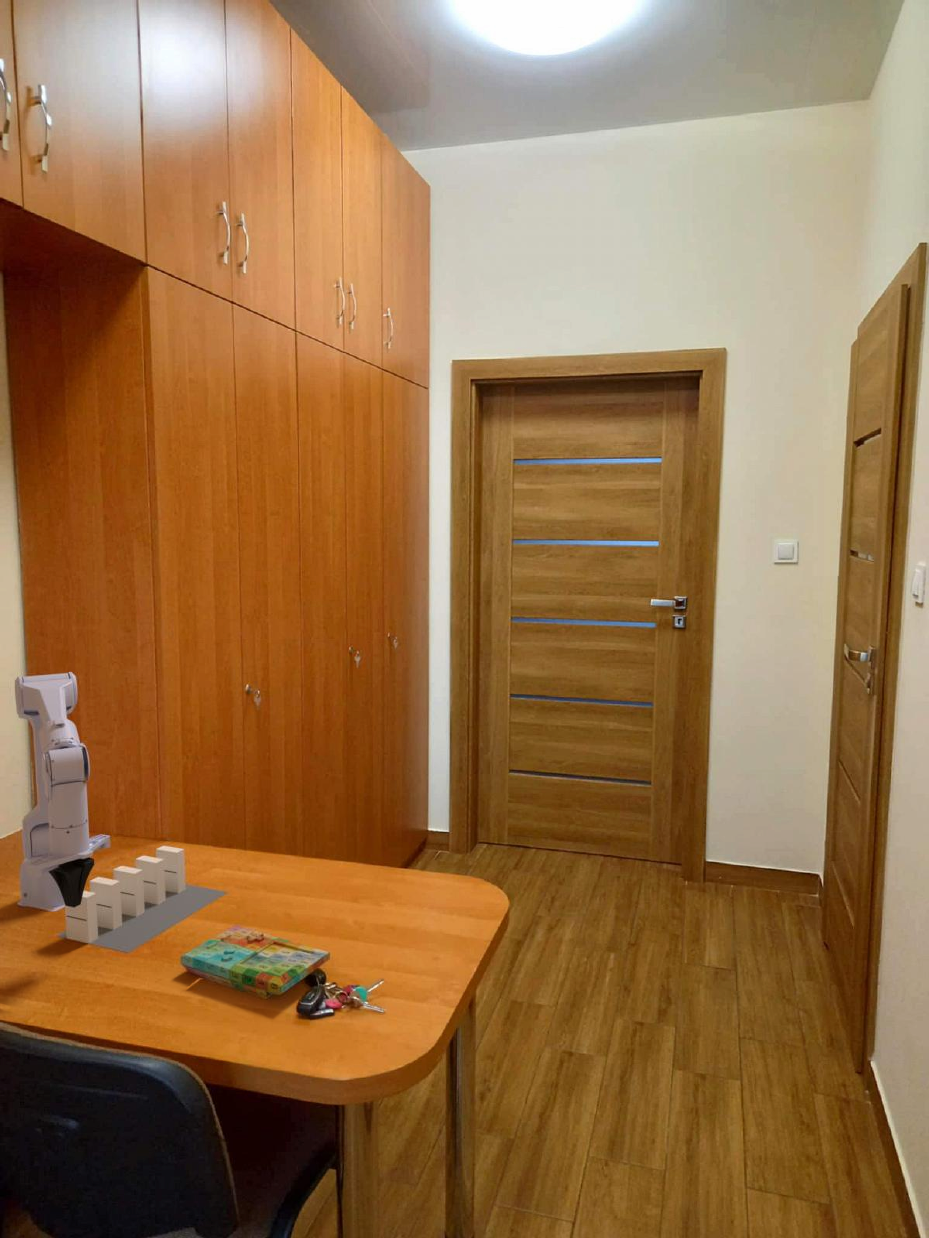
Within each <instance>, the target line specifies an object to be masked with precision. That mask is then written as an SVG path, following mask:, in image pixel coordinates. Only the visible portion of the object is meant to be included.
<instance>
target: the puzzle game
mask: <svg viewBox="0 0 929 1238" xmlns="http://www.w3.org/2000/svg"><path fill="white" fill-rule="evenodd" d="M330 960H331V953H330V952H329V951H326V950H322V949H318V948H315V947H312V946H308V945H306V944H305V945H304V944H303V943H302V944H301V943H298V942H295V941H291V940H289V939H284V938H281V937H277V936H275V935H271V934H268V933H263V932H260V931H256V930H254V929H250V928H246V927H243V926H240V925H234V926H231V927H229V928H228V929H226V930H224V931H223V932H221V933H219V934H218V935H216V936H214V937H212V938H211V939H208V940H207V941H205V942H203V943H201V944H199V945H198V946H196V947H195V948H193V949H191V950H189V951H188V952H186V953H184V954H182V955H180V963H181V965H182V966H183V967H184V968H185V970H186V971H187V972H189V973H190V974H192V975H197V976H199V978H201V979H203V980H205V981H206V980H207V981H210V982H214V983H215V984H219V985H222V986H225V987H228V988H231V989H234V990H238V991H240V992H243V993H246V994H247V993H248V994H250V995H252V996H256V997H259V998H263V999H264V1000H265V999H266V1000H268V999H269V998H270V997H272V996H273V995H276V996H279V995H282V994H283V993H286V991H288V990H289V989H290V988H292V987H293V986H295V985H296V984H298V983H299V982H301V980H303V979H304V978H306V977H307V976H309V975H310V974H312V973H313V972H314V971H316V970H317V969H318V968H320V967H321V966H323V965H324V964H325V963H327V962H328V961H330Z"/></svg>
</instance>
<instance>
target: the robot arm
mask: <svg viewBox="0 0 929 1238" xmlns="http://www.w3.org/2000/svg"><path fill="white" fill-rule="evenodd" d="M78 695H79V694H78V683H77V677H76V675H75V674H74V673H73V672H72V671H69V672H65V673H64V672H63V673H54V674H52V673H51V674H43V675H31V676H30V675H28V676H22V675H18V676H16V678H15V679H14V697H15V706H16V714H17V715H18V718H19V719H24V720H28V721H29V723H30V725H31V728H32V733H33V734H32V735H33V750H34V767H35V784H36V800H37V804H36V805H35V807H33V809H32V810H30V811H29V812H27V814H25V815H24V816H23V819H22V822H21V824H22V829H21V842H22V852H23V857H24V859H23V861H22V863H21V865H20V869H19V883H20V901H18V902H17V906H18V905H19V906H20V907H30V908H36V909H41V910H45V911H49V912H56V911H59V910H61V909H63V908H65V906H69V907H73V908H74V907H77V906H79V905H81V901H82V896H83V892H84V891H85V887H86V884H87V880H88V877H89V876H90V873H91V872H92V870H93V868H94V866H95V859H94V858H93V857H92V856H93V853H95V852H97V851H100V850H102V849H104V850H106V849H108V848H111V836H110V835H107V834H101V833H100V834H98V835H94V836H92V837H90V830H89V826H90V825H89V811H88V810H89V809H88V791H87V790H88V789H87V788H88V787H87V782H89V780H90V774H91V773H90V772H91V765H90V764H91V763H90V757H89V753H88V749H87V746H86V744H84V742H81V741H80V736H79V733H78V730H77V725H75V722H73V721H72V720H71V719H68V715H69V714H72V713H73V711H74V709H75V707H76V704H77V703H78V700H79V699H78V697H79V696H78Z"/></svg>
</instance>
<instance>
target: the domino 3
mask: <svg viewBox="0 0 929 1238" xmlns="http://www.w3.org/2000/svg"><path fill="white" fill-rule="evenodd" d="M112 873H113V880H117V881H120V889H121V910H122V914H126V915H131V916H135V917H137V916H139V915H141V914H143V913H144V912H145V909H144V886H143V870H141V869H136V867H130V866H126V865H120V866H118V867H116V868H114V869H113V870H112Z"/></svg>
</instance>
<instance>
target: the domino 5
mask: <svg viewBox="0 0 929 1238" xmlns="http://www.w3.org/2000/svg"><path fill="white" fill-rule="evenodd" d="M155 852H156V853H155V854H156V857H155V858H160V859H164V872H165V891H170V892H175V893H180V892H182V891H183V890H185V889H186V886H185V884H186V868H185V865H186V864H185V863H186V862H185V849H184V848H179V847H175V846H174V847H173V846H168V845H162V846H160V847H157V848H156V849H155Z"/></svg>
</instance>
